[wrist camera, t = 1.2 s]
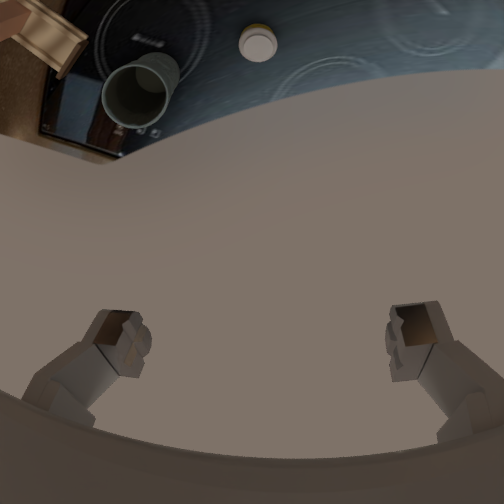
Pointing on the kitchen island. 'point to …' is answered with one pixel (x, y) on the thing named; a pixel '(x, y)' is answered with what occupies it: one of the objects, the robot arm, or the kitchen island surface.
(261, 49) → the supplement bottle
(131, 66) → the green cup
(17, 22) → the block
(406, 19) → the kitchen island surface
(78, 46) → the chute
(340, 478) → the robot arm
